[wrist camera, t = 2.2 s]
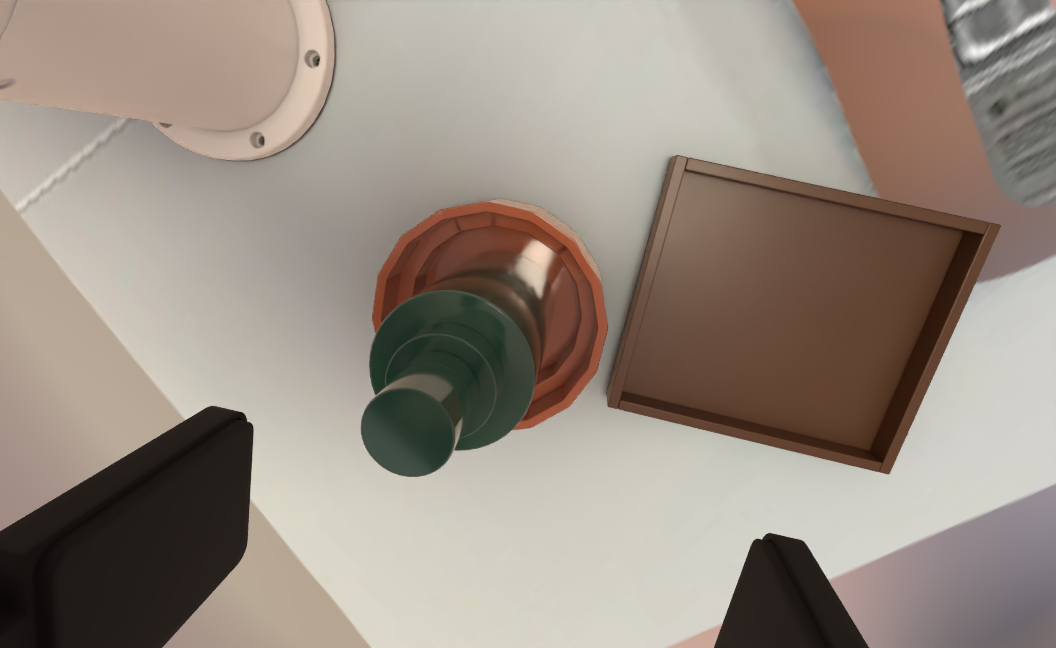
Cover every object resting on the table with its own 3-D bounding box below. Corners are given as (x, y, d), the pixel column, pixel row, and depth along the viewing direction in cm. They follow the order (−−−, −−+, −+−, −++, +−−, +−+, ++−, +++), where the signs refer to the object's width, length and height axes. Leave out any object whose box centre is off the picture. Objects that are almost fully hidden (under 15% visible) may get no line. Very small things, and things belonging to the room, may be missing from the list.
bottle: (439, 342, 33) (290, 501, 16) (458, 239, 31) (311, 302, 15) (542, 367, 32) (494, 554, 16) (566, 264, 31) (539, 356, 14)
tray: (606, 393, 33) (607, 406, 31) (670, 156, 29) (676, 154, 27) (871, 457, 32) (889, 475, 30) (973, 222, 28) (1002, 225, 26)
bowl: (392, 371, 34) (360, 402, 29) (421, 180, 31) (390, 179, 26) (576, 416, 33) (574, 455, 29) (626, 225, 30) (632, 233, 25)
